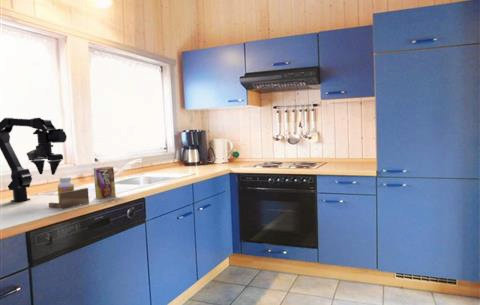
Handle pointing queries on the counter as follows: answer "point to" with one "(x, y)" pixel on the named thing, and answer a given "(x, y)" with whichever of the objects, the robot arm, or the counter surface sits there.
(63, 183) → the supplement bottle
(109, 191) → the candy box
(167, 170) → the counter surface
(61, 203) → the brown rectangular box
